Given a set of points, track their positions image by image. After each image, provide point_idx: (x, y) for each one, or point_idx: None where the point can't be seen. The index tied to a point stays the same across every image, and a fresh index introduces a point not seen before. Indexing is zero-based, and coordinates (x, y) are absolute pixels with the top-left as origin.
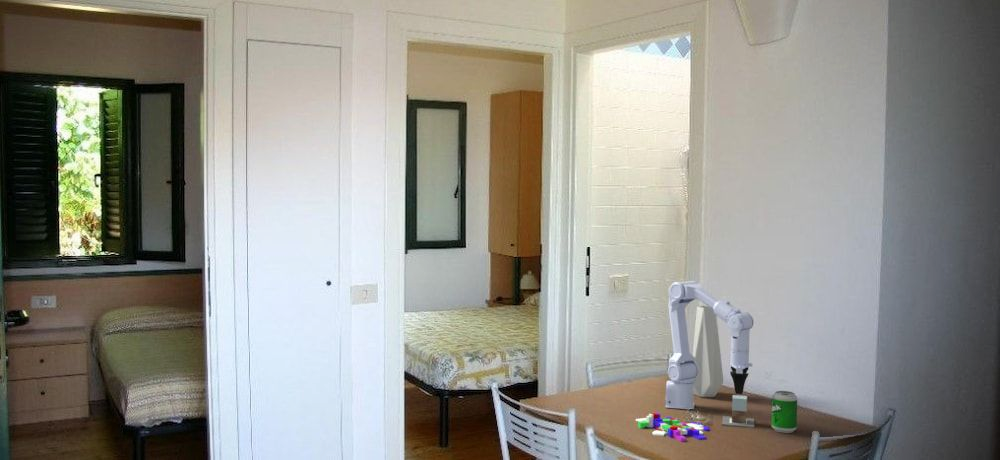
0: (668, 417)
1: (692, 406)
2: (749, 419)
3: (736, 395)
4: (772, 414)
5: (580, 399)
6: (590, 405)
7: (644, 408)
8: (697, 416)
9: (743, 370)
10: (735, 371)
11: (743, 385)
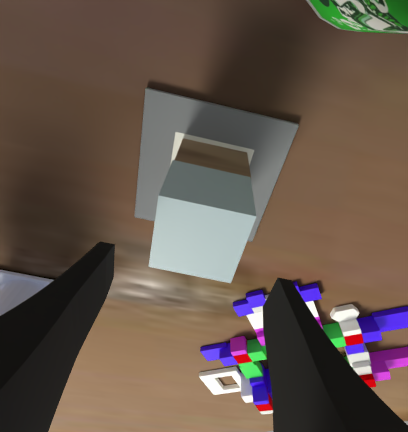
0: (225, 362)
1: (39, 283)
2: (167, 118)
3: (157, 251)
4: (400, 33)
5: (67, 426)
6: (107, 422)
7: (96, 366)
8: (144, 283)
9: (18, 406)
10: (44, 424)
11: (328, 342)
